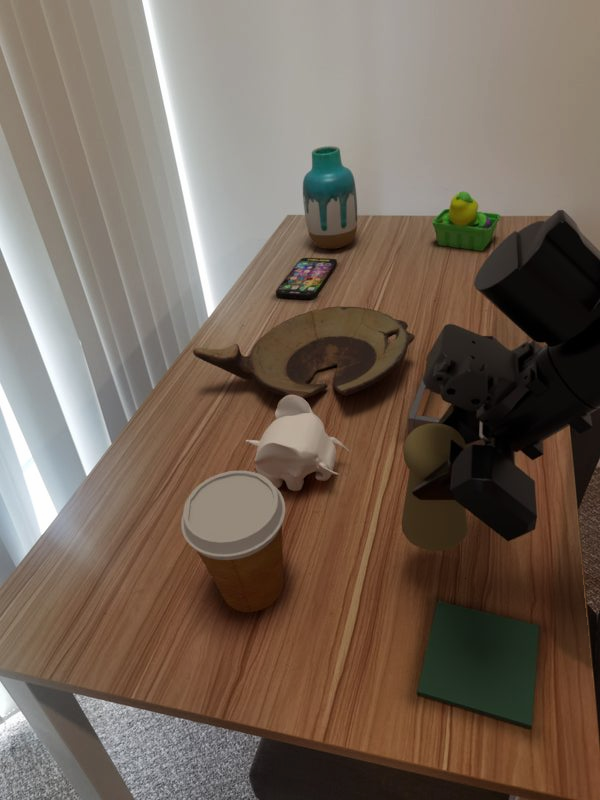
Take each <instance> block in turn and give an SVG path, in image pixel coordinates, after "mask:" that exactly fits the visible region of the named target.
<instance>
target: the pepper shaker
mask: <svg viewBox="0 0 600 800" xmlns="http://www.w3.org/2000/svg"><path fill="white" fill-rule="evenodd" d="M451 439H452V440H453V441H454V442H456V443H457V444H458V445H459V446H461V447H462V448H463V449H466V444H465V441H464V439H463V438H462V436H461V435H460V434H459V433H458V431H456V430H455V429H453V428H452V427H450V426H447V425H444V424H437V423H432V424H425V425H421V426H419V427H417V428H415V429H414V430H413V431H412V432H411V433H410V434H409V435H408V434H407V437H406V438H405V440H404V444H403V447H402V449H403V451H402V452H403V460H404V463H405V465H406V467H407V468H408V477H407V484H406V490H405V495H404V502H403V503H404V504H403V510H402V515H401V516H402V517H401V531H402V533H403V535H404V537H405V539H407V540H408V541H409V542H410V543H411V545H413V546H414V547H415V546H416V547H417V548H419V549H421V550H425V551H430V552H444V551H445V552H446V551H448V550H451V549H454V548H456V547H457V546H459V545H460V544H462V542H463V541H464V540H465V538H466V537H467V534H468V529H469V525H468V518H467V511H466V509H465V508H464V507H463V506H462V505H460V504H459V503H458V502H456V500H420V499H418V498H417V497H415V496H414V495H413V494H412V490H413V489H414V488H415V487H416V486H417V485H418V484H419V483H420V482H421V481H422V480H423V479H425V478H426V477H427V476H428V475H430V474H431V473H432V472H434V471H435V470H436V469H437V468H439V467H440V466H441V465H442V464H444V463H445V462H446V461H447V460H448V458H449V446H450V440H451Z"/></svg>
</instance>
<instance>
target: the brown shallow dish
mask: <svg viewBox="0 0 600 800" xmlns="http://www.w3.org/2000/svg"><path fill="white" fill-rule="evenodd" d="M408 327H409V325H408V323H407V322H406V321H405V320H402V319H401V320H400V319H396V318H394V317H392V316H391V315H389V314H387V313H384V312H381V311H378V310H375V309H371V308H365V307H361V306H328V307H324V308H321V309H314V310H309V311H307V312H303V313H301V314H298V315H294V316H293V317H290V318H289V319H285V320H284V321H282V322H281V323H279V324H277V325H276V326H274V327H272V329H270V330H269V331H268V332H266V333H264V335H263V336H261V337H260V338H259V339H258V340H257V341H256V343H254V346H253V347H252V349H251V351H250V354H249V355H248V356H246V355H242V352H241V349H240V346H239V344H238V343H233V344H232V345H229V346H227V347H224V348H218V349H217V348H207V347H206V348H204V347H196V348H193V350H192V354H193V355H194V356H195V357H196V358H198V359H199V360H201V361H204V362H206V363H208V364H210V365H212V366H214V367H217V368H219V369H221V370H224V371H225V372H227V373H229V374H232V375H234V376H236V377H237V378H240V379H242V380H245V381H257V383H259V385H260V386H262V387H263V388H265V389H266V390H268V391H269V392H272V393H274V394H277V395H281V396H284V397H286V396H288V395H296V396H299V397H301V398H303V399H305V398H309V397H312V396H315V395H318V394H319V393H322V392H323V391H325V390H326V389H327V388H328V387H329V385H328V384H326V381H325V382H315V383H309V382H310V381H311V380H312V379H313V378H314V376H315V374H316V373H317V372H319V371H324V370H325V369H330V368H332V367H335V366H336V369H335V370H334V373H333V377H332V384H331V385H332V387H333V390H335V392H337V393H338V394H340V395H342V396H348V395H351V394H354V393H356V392H359V391H361V390H364V389H366V388H368V387H370V386H372V385H374V384H376V383H377V382H379V381H381V380H382V379H383V378H385V377H386V376H388V375H389V374H390V373H392V371H394V370H395V369H396V367H398V365H400V363H401V362H402V361H403V359H404V358H405V356H406V354H407V353H408V350H409V349H408V348H409V347H410V345H411V343H412V342H414V340H415V337H416V336H415V334H413V333H411V332H409V331H408V330H407V329H408ZM392 336H395V338H394V339H391V341H390V342H389V341H388V340H389V338H390V337H392Z"/></svg>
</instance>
